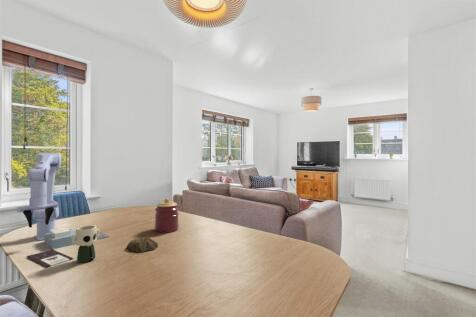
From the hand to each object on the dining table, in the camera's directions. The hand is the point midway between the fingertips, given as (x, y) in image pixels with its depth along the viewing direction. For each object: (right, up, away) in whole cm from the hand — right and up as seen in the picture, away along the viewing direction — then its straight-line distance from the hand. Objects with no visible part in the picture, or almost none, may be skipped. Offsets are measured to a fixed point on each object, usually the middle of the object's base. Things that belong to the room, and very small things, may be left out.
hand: (38, 225), depth 112 cm
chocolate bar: (+14, -11, -12) cm, 21 cm away
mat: (+14, -10, +16) cm, 23 cm away
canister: (+49, -10, +29) cm, 58 cm away
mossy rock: (+47, -11, +1) cm, 48 cm away
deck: (+6, -10, +7) cm, 13 cm away
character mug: (+29, -10, -13) cm, 34 cm away
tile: (+5, -6, +6) cm, 10 cm away
